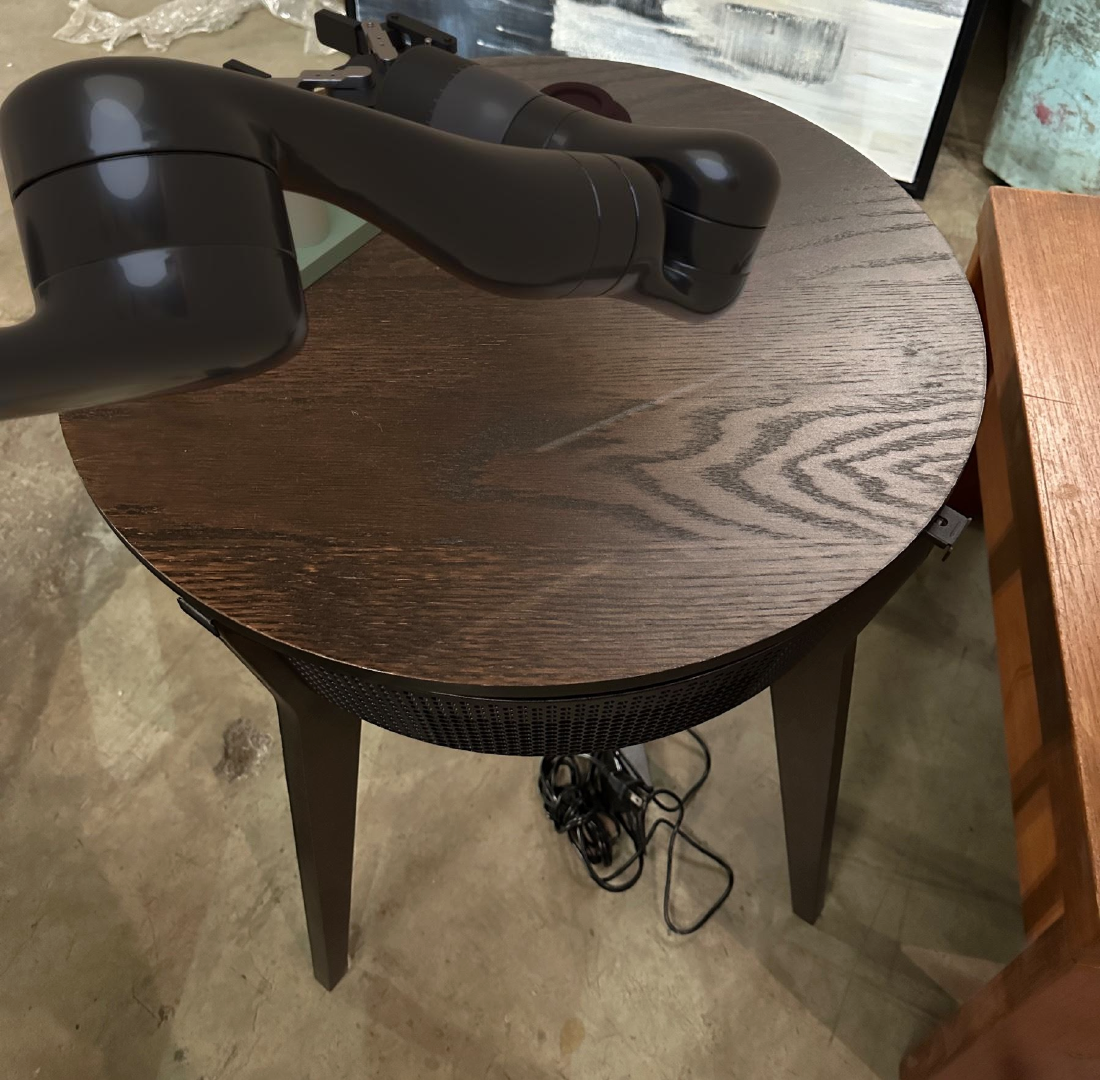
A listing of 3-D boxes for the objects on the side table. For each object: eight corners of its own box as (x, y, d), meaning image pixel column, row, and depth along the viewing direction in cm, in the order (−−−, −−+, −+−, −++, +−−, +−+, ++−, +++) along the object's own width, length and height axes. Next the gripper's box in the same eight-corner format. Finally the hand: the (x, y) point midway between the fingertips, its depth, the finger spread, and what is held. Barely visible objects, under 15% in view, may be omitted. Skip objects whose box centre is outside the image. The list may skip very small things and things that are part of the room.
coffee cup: (639, 266, 95) (657, 115, 84) (547, 299, 92) (552, 147, 80) (583, 210, 101) (592, 60, 89) (494, 239, 97) (491, 88, 85)
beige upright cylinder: (276, 250, 94) (254, 151, 86) (275, 217, 97) (254, 119, 89) (331, 245, 95) (315, 146, 87) (328, 213, 98) (312, 115, 90)
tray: (239, 339, 88) (234, 319, 86) (152, 291, 91) (146, 272, 90) (439, 188, 102) (438, 169, 100) (357, 151, 106) (355, 133, 104)
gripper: (535, 24, 64) (338, -48, 69) (388, 123, 57) (180, 34, 62) (533, 135, 70) (352, 61, 75) (400, 238, 63) (209, 148, 68)
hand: (274, 49), depth 69 cm, fingers open, 8 cm apart
